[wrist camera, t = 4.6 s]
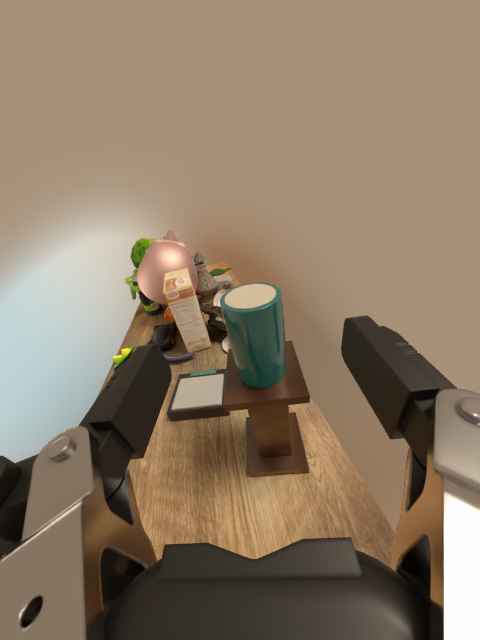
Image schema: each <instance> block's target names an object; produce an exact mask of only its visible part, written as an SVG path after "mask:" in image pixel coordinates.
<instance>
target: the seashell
mask: <svg viewBox="0 0 480 640" xmlns="http://www.w3.org/2000/svg"><path fill="white" fill-rule="evenodd" d="M225 293H226V291H225V290H220V291H218V293H217V294H216V295H215V297H214V305H213V306H219V307H221V306H220V299H221V297H222V296H223V295H224V294H225Z"/></svg>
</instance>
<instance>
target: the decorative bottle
mask: <svg viewBox="0 0 480 640" xmlns="http://www.w3.org/2000/svg"><path fill="white" fill-rule="evenodd" d="M202 261H204V258H203V256H202V255H201V254H199V253H198V252H196V254H195V257H194V262H195V264H194V266H195V267H196V269H197V274H198V286H197V289H196V292H198V293H200V294H201V295H203V297H204V298H202V299H201V303H202V304H204V305H205V304H212V303H214V297H215V295H213V293H214V291H215V289H216V287H217V285H218V282H217V281H216V280H215V279H214V278H213V277H212V276H211V274H210V273H209V272H208V271H207V270H206V268H205V264H206V262H202Z"/></svg>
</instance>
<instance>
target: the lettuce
mask: <svg viewBox="0 0 480 640" xmlns="http://www.w3.org/2000/svg"><path fill="white" fill-rule="evenodd" d="M154 240H155V239H147V238H141V239H140V240H138V241H136V243H135V245H134V246H133V248H132V253H131V259H132V262H133V264H134V266H135V267H136V268H137V269H138V268H139V265H140V263H141V261H142V259H143V257H144V256H145V250H146V249H148V248H149V246H150V245H151V243H152V242H153V241H154Z"/></svg>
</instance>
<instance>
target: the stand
mask: <svg viewBox="0 0 480 640" xmlns="http://www.w3.org/2000/svg"><path fill="white" fill-rule="evenodd" d="M285 345H286V359H287V373H286V375H285V377H284V378H283V379H282V380H281V381H280V382H279V383H278V384H276V385H274V386H272V387H268V388H253V387H250V386H248V385H246V384H245V383H243V382H242V381H241V379H240V378H239V376H238V372H237V368H236V364H235V360H234V356H233V352H232V349H228V355H227V368H226V381H225V394H224V407H225V410H226V411H234V410H244V409H248V412H249V416H250V417H246V422H247V463H248V475H249V477H252V476H266V475H280V474H294V473H308V472H309V467H308V463H307V459H306V455H305V450H304V446H303V442H302V438H301V434H300V430H299V425H298V421H297V417H296V413H295V412H294V413H289V409H288V405H292V404H302V403H309V402H310V395H309V392H308V389H307V386H306V383H305V380H304V377H303V374H302V371H301V368H300V365H299V362H298V359H297V356H296V353H295V349H294V346H293V343H292V341H285Z"/></svg>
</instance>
